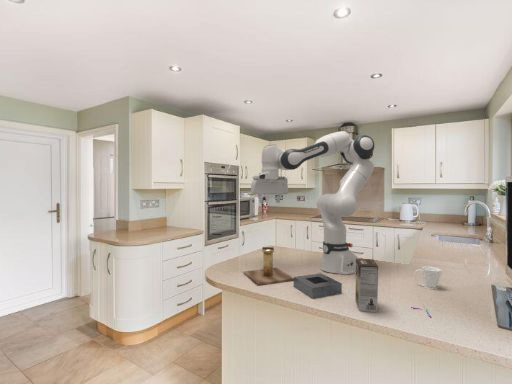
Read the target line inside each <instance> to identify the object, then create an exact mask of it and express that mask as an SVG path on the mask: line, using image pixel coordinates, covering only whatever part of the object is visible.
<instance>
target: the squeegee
mask: <svg viewBox="0 0 512 384" xmlns="http://www.w3.org/2000/svg"><path fill="white" fill-rule="evenodd" d="M411 308H413V309H412V310H417V309H421V308H418V307H412V306H411V307H410V309H411ZM425 312H426V314H427V316H428V318H429V317H430V319H433V318H432V315H431V314H430V312H429V311H428V309H427V308H426V311H425Z"/></svg>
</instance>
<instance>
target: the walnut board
mask: <svg viewBox="0 0 512 384" xmlns="http://www.w3.org/2000/svg"><path fill="white" fill-rule="evenodd" d="M243 275H244V276H246V277H247V278H248V279H249V280H250V281H252V282H253V283H254V284H255V285H256V286H257V287H261V286H267V285H273V284H280V283H288V282H294V276H291V275H289V274H288V273H286V272H285V271H283V270H281V269H280V268H277V267H273V275H272V276H264V275H263V268H262V269H254V270H246V271H243Z"/></svg>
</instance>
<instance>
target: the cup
mask: <svg viewBox="0 0 512 384" xmlns="http://www.w3.org/2000/svg"><path fill="white" fill-rule="evenodd" d="M418 271H419V272H421V273H422V279H423V282H424V284H422V283H420V282H419V281H418V280H417V279H416V273H417V272H418ZM441 272H442V269H440V268H438V267H434V266H423V267H421V269H416V270H415V271H414V273H413V279H414V280H415V282H416V283H417V284H419V285H420V286H422V287H423V286H424V288H426V287H427V288H426V289H429V288H430V289H429V290H437V289H438V285H439V282H440V277H441Z"/></svg>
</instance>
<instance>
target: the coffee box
mask: <svg viewBox="0 0 512 384" xmlns="http://www.w3.org/2000/svg"><path fill="white" fill-rule="evenodd" d="M378 295H379V265H378V264H377V263H376V261H375V259H373V258H372V259H371V258H369V259H366V258H358V259H356V272H355V299H354V300H355V303H356V306H357V309H358V311H360V312H369V313H370V312H371V313H378V298H379V297H378Z"/></svg>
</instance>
